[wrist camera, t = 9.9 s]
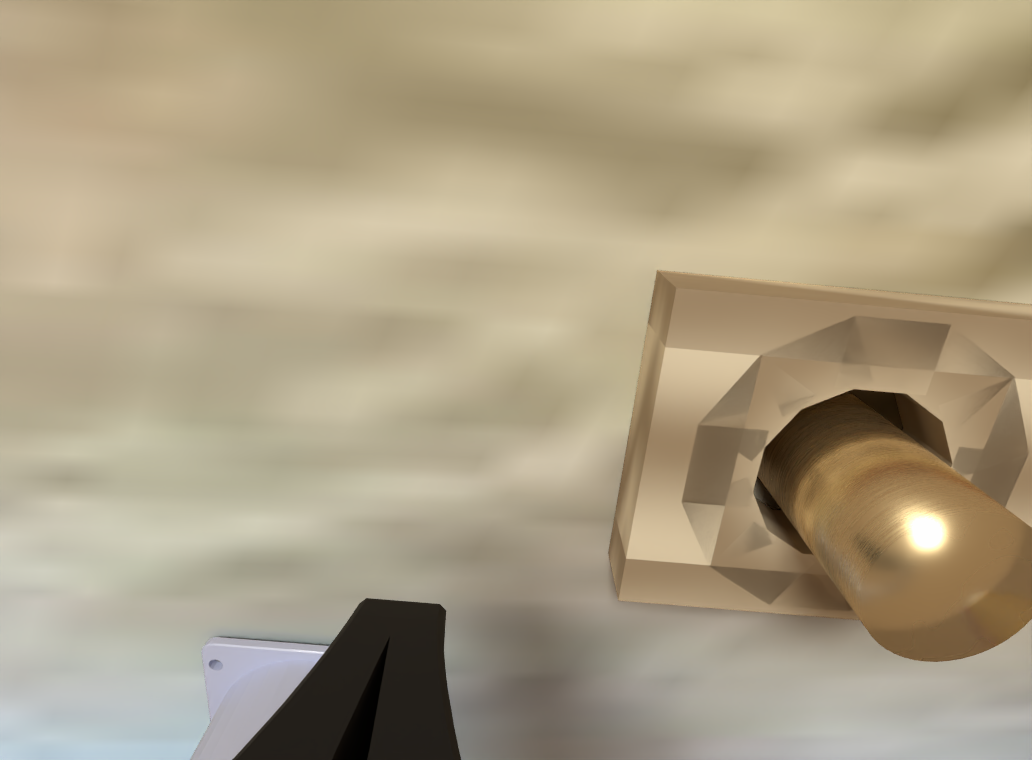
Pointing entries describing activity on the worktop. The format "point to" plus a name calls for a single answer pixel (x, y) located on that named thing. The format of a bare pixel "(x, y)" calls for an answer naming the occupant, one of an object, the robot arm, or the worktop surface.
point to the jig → (773, 404)
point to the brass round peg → (901, 532)
